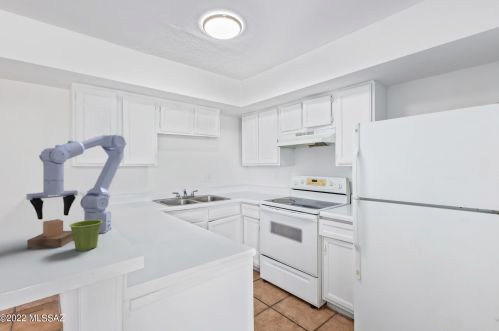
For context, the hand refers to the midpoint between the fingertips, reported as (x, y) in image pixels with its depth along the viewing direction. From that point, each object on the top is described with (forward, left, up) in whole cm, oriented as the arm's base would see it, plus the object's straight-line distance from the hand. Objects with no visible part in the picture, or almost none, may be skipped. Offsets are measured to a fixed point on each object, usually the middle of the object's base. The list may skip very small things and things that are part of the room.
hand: (53, 217), depth 86 cm
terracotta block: (0, +1, -6) cm, 6 cm away
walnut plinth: (0, +1, -9) cm, 9 cm away
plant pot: (-14, +9, -10) cm, 19 cm away
